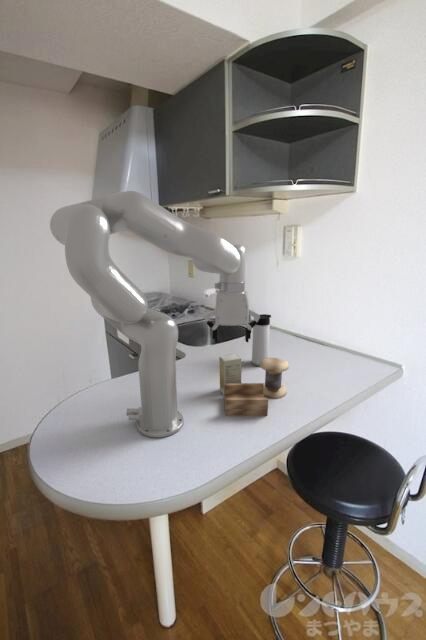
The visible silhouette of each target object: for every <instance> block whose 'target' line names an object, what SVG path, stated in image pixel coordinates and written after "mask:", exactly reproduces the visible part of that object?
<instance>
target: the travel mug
mask: <svg viewBox="0 0 426 640" xmlns="http://www.w3.org/2000/svg"><path fill="white" fill-rule="evenodd" d="M259 315H260V318H259V320H258V322H257V324H256V325H255V326H254V327H253V328H252V343H251V344H252V346H251V350H252V351H251V364H252V365H253V366H255V367H260V361H261V360H262V359H265V358H269V347H270V346H269V345H270V325H271V323H270V322H271V320H270V318H272V314H264V313H263V314H259ZM260 368H261V367H260Z"/></svg>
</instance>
